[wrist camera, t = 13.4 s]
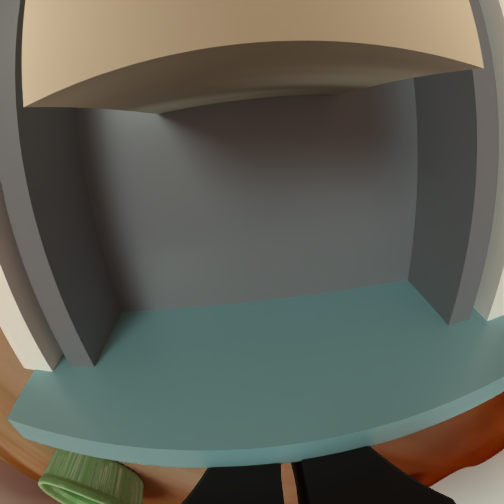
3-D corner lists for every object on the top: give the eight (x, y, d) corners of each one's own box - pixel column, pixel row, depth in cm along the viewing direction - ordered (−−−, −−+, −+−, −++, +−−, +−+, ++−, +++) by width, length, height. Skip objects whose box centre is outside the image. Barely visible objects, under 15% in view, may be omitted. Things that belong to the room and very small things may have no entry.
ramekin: (86, 480, 19) (77, 513, 15) (33, 432, 16) (16, 471, 12) (165, 493, 19) (160, 532, 15) (119, 448, 16) (107, 500, 11)
